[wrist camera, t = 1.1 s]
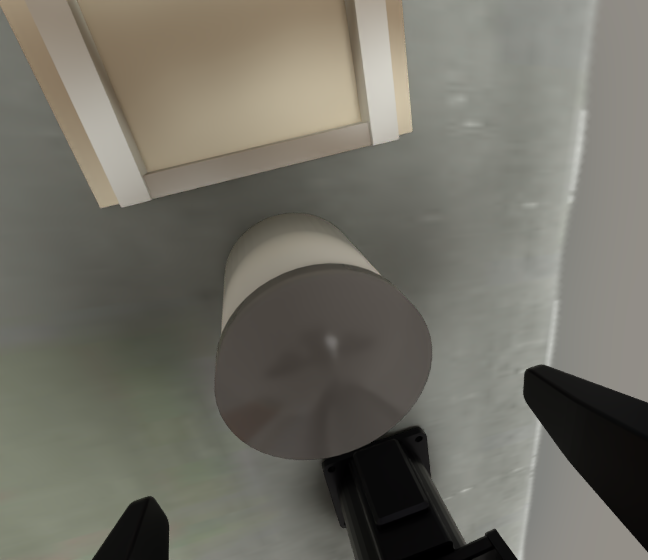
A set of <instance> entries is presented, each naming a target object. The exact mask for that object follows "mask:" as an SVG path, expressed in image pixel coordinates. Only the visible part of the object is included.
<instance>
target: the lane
mask: <svg viewBox="0 0 648 560" xmlns="http://www.w3.org/2000/svg"><path fill="white" fill-rule="evenodd" d="M0 6H1V8H2V10H3V12H4V14H5V16H6V18H7V20H8V22H9V24H10V26H11V28H12V30H13V32H14V34H15V36H16V38H17V40H18V42H19V44H20V46H21V48H22V50H23V52H24V54H25V56H26V58H27V60H28V62H29V64H30V66H31V69H32V71H33V73H34V75H35V77H36V79H37V81H38V83H39V85H40V87H41V89H42V91H43V93H44V95H45V97H46V99H47V101H48V103H49V105H50V107H51V109H52V111H53V113H54V115H55V117H56V119H57V121H58V123H59V125H60V127H61V129H62V131H63V133H64V135H65V137H66V139H67V141H68V143H69V145H70V148H71V150H72V152H73V154H74V156H75V158H76V160H77V162H78V164H79V166H80V168H81V170H82V172H83V174H84V176H85V178H86V180H87V182H88V184H89V186H90V188H91V190H92V192H93V194H94V196H95V198H96V200H97V202H98V204H99V206H100V208H104V207H108V206H112V205H116V204H120V206H121V208H122V207H127V206H131V205H135V204H139V203H143V202H147V201H151V200H152V199H155V198H159V197H163V196H167V195H171V194H175V193H179V192H184V191H188V190H192V189H196V188H200V187H204V186H208V185H212V184H216V183H220V182H224V181H228V180H232V179H236V178H240V177H244V176H248V175H252V174H257V173H261V172H265V171H269V170H273V169H277V168H281V167H285V166H289V165H293V164H297V163H301V162H305V161H309V160H313V159H317V158H321V157H325V156H330V155H334V154H338V153H342V152H346V151H350V150H354V149H358V148H362V147H366V146H370V145H373V146H374V145H378V144H382V143H386V142H390V141H394V140H398V139H399V135H401V134H406V133H410V132H413V131H412V119H411V107H410V94H409V82H408V70H407V58H406V46H405V34H404V22H403V9H402V0H0Z"/></svg>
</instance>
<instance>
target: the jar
mask: <svg viewBox="0 0 648 560" xmlns="http://www.w3.org/2000/svg"><path fill="white" fill-rule="evenodd" d="M431 362H432V344H431V338H430V334H429V331H428V328H427V325H426V323H425V321H424V319H423V318H422V316H421V314H420V313H419V312H418V310H417V309H416V308H415V306H414V305H413V304H412V303H411V302H410V301H409V300H408V299H407V298H406V297H405V296H404V295H403V294H402V293H401V291H400V290H399V289H398V288H396V287H395V286H394V285H393V284H392V283H391V282H390V281H388V280H387V279H385V278H384V277H382V276H381V275H380V274H379V272H378V271H377V270H376V269H375V268H374V267H373V266H372V265H371V264H370V263H369V261H368V260H367V259H366V258H365V257H364V256H363V255H362V254H361V253H360V252H359V250H358V249H357V248H356V247H355V246H354V245H353V244H352V243H351V242H350V241H349V239H348V238H347V237H346V236H345V235H344V234H343V233H342V232H341V231H340V230H339V229H338V228H337V227H336V226H334V225H333V224H331V223H330V222H328V221H326V220H324V219H322V218H320V217H317V216H314V215H309V214H304V213H285V214H280V215H276V216H272V217H269V218H267V219H265V220H263V221H260V222H258V223H257V224H255V225H254V226H252V227H251V228H250V229H249V230H247V231H246V232H245V233H244V234H243V235H242V236H241V237H240V238H239V239H238V241H237V242H236V244H235V245H234V247H233V248H232V250H231V252H230V254H229V257H228V260H227V263H226V267H225V275H224V293H223V310H222V328H221V337H220V340H219V343H218V348H217V354H216V366H215V397H216V403H217V406H218V409H219V412H220V414H221V416H222V418H223V420H224V421H225V423H226V425H227V426H228V427H229V428H230V430H231V431H232V432H233V433H234V434H235V435H236V436H237V437H238V438H239V439H240V440H242V441H243V442H244V443H246V444H247V445H249V446H250V447H252V448H254V449H256V450H258V451H260V452H263V453H266V454H269V455H272V456H275V457H280V458H285V459H294V460H314V459H323V458H328V457H333V456H338V455H341V454H344V453H348V452H350V451H353V450H355V449H358V448H360V447H362V446H364V445H366V444H368V443H370V442H372V441H374V440H376V439H377V438H379V437H380V436H382V435H383V434H385V433H386V432H387V431H389V430H390V429H391V428H393V427H394V426H395V425H396V424H397V423H398V422H399V421H400V420H401V419H402V418H403V417H404V416H405V415H406V414H407V413H408V412H409V411H410V409H411V408H412V407H413V405H414V404H415V403H416V401H417V400H418V398H419V396H420V394H421V393H422V391H423V389H424V386H425V384H426V382H427V379H428V376H429V372H430V368H431Z"/></svg>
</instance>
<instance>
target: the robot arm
mask: <svg viewBox="0 0 648 560" xmlns="http://www.w3.org/2000/svg"><path fill="white" fill-rule="evenodd" d="M523 395H524V399H525V401H526V403H527V404H528V406H529V407H530V408H531V410H532V411H533V413H534V414H535V415H536V417H537V418H538V420H539V421H540V422H541V424H542V425H543V426H544V428H545V429H546V431H547V432H548V433H549V435H550V436H551V438H552V439H553V440H554V442H555V443H556V444H557V446H558V447H559V449H560V450H561V451H562V453H563V454H564V455H565V457H566V458H567V459H568V461H569V462H570V463H571V464H572V465H573V467H574V468H575V469H576V470H577V471H578V472H579V474H580V475H581V476H582V477H583V478H584V479H585V480H586V482H587V483H588V484H589V485H590V486H591V487H592V488H593V490H594V491H595V492H596V493H597V494H598V495H599V497H600V498H601V499H602V500H603V501H604V502H605V503H606V505H607V506H608V507H609V508H610V509H611V510H612V512H613V513H614V514H615V515H616V516H617V517H618V518H619V519H620V521H621V522H622V523H623V524H624V525H625V526H626V528H627V529H628V530H629V531H630V532H631V533H632V535H633V536H634V537H635V538H636V539H637V540H638V541H639V542H640V544H641V545H642V546H643V547H644V548H645V550H646V551H647V552H648V403H647V402H644V401H642V400H639V399H636V398H634V397H631V396H628V395H625V394H622V393H620V392H617V391H614V390H612V389H609V388H606V387H603V386H601V385H598V384H595V383H593V382H590V381H587V380H584V379H582V378H579V377H576V376H574V375H571V374H568V373H565V372H563V371H560V370H557V369H554V368H552V367H549V366H546V365H537V366H534V367H531V368H528V369H526V371H525V373H524V388H523ZM322 468H323V472H324V475H325V478H326V481H327V485H328V488H329V491H330V494H331V498H332V501H333V504H334V507H335V510H336V514H337V517H338V520H339V523H340V526H341V527H342V528H347V531H348V535H349V538H350V542H351V546H352V549H353V553H354V557H355V560H518V559H517V558H516V557H515V555H514V554H513V553H512V551H511V550H510V548H509V547H508V546H507V544H506V543H505V541H504V540H503V539H502V537H501V536H500V535H499V533H498V532H497V530H496V529H493V530H491V531H489V532H487V533H485V536H484V537H481V538H479V539H477V540H475V541H473V542H471V543H469V544H466V542H465V541H464V539H463V537H462V535H461V533H460V531H459V529H458V528H457V526H456V524H455V522H454V520H453V518H452V517H451V515H450V513H449V511H448V509H447V507H446V505H445V504H444V502H443V500H442V498H441V496H440V494H439V492H438V491H437V489H436V487H435V485H434V483H433V481H432V479H431V474H430V465H429V455H428V445H427V436H426V434H425V432H424V431H423V429H421V428H415V429H412V430H409V431H406V432H403V433H400V434H397V435H394V436H391V437H389V438H386V439H383V440H380V441H377V442H374V443H371V444H368V445H365V446H362V447H360V448H358V449H355V450H353V451H350V452H348V453H344V454H341V455H338V456H333V457H330V458H328V459H326V460H325V461H324V462H323V463H322ZM92 560H169V523H168V519H167V516H166V515H165V513H164V512H163V510H162V509H161V507H160V506H159V504H158V503H157V501H156V500H155V499H154V497H152V496H148V497H145V498H142V499H139V500H136V501H133V502H132V503H131V504H130V505H129V506H128V507H127V509H126V510H125V512H124V513H123V515H122V516H121V518H120V519H119V521H118V522H117V524H116V525H115V526H114V528H113V529H112V531H111V532H110V534H109V535H108V537H107V538H106V540H105V541H104V543H103V544H102V546H101V547H100V549H99V550H98V551H97V553H96V554H95V556H94V557H93V559H92Z"/></svg>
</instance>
